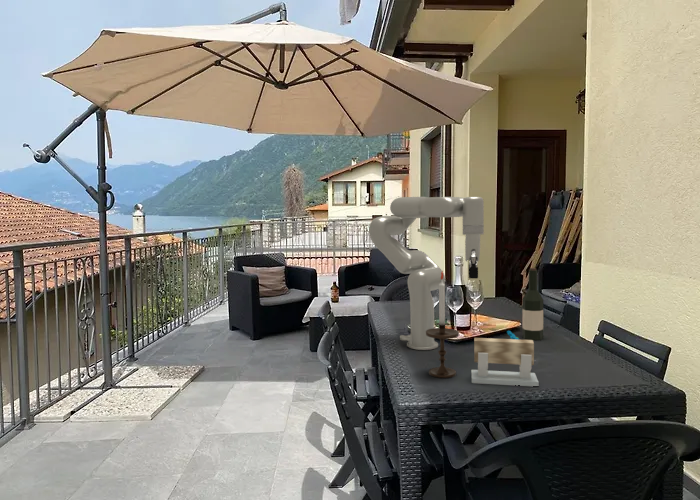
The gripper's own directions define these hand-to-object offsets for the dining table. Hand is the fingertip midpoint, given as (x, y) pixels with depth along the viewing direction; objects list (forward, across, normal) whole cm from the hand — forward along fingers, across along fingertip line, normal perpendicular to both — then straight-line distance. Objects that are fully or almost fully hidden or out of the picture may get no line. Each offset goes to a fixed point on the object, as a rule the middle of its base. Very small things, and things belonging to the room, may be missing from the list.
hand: (473, 276), depth 183 cm
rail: (+24, +25, +9) cm, 36 cm away
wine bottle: (+31, -32, +25) cm, 51 cm away
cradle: (+30, +25, +9) cm, 40 cm away
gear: (+31, -12, +17) cm, 37 cm away
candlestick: (+31, +22, -10) cm, 39 cm away
